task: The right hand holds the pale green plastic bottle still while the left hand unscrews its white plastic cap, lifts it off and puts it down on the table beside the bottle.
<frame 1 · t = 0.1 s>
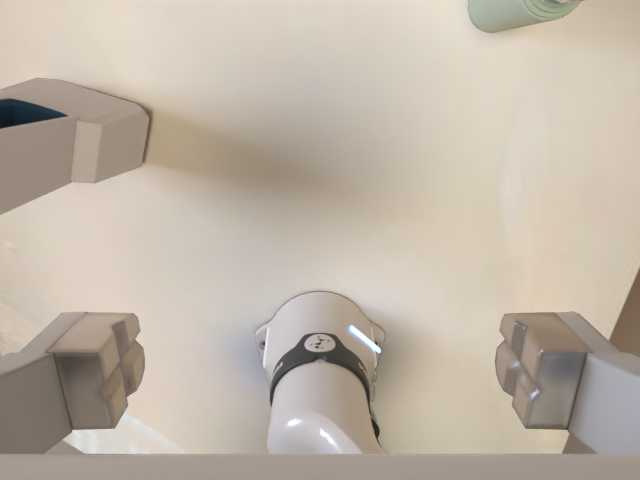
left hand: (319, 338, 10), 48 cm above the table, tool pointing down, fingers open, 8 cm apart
bottle: (494, 3, 50), on the table
electronic device: (100, 122, 55), on the table
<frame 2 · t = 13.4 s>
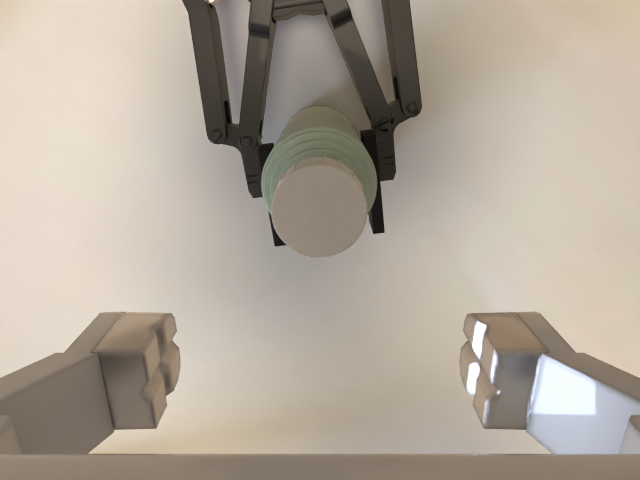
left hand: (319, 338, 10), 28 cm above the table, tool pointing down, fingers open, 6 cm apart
right hand: (329, 232, 31), fingers closed on bottle, 6 cm apart
bottle: (319, 144, 36), on the table, touching right hand
cap: (319, 211, 19), point 18 cm above the table, screwed on, not yet turned
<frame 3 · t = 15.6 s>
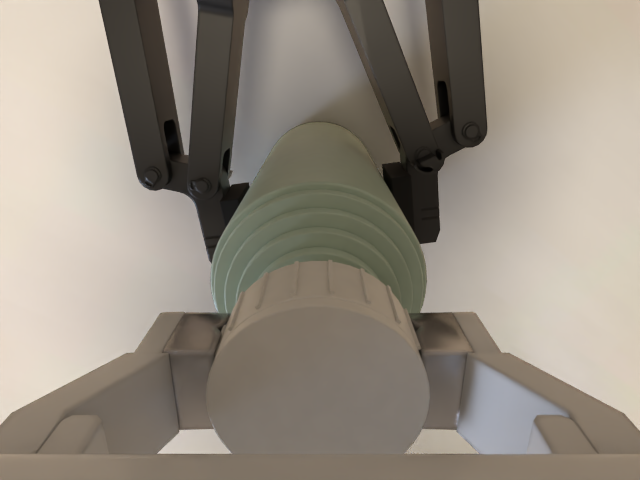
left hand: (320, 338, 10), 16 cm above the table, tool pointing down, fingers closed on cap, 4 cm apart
bottle: (319, 176, 25), on the table, touching right hand
cap: (318, 393, 8), point 18 cm above the table, screwed on, not yet turned, touching left hand
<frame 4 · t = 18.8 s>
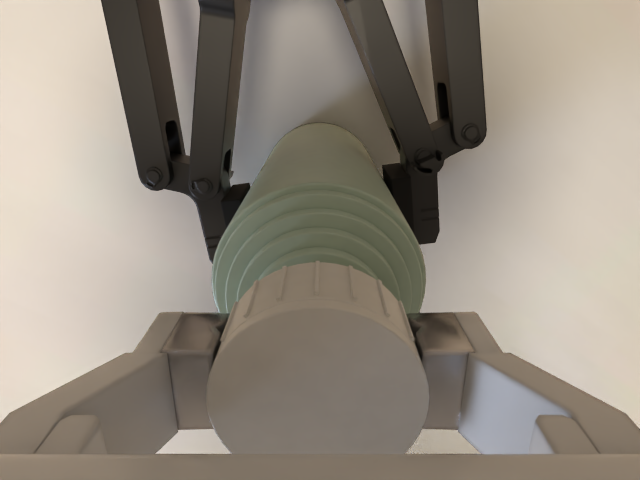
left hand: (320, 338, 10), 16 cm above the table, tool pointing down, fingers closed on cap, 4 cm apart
bottle: (319, 177, 25), on the table, touching right hand
cap: (317, 394, 8), point 18 cm above the table, turned 83° so far, risen 0.1 cm, still on its thread, touching left hand
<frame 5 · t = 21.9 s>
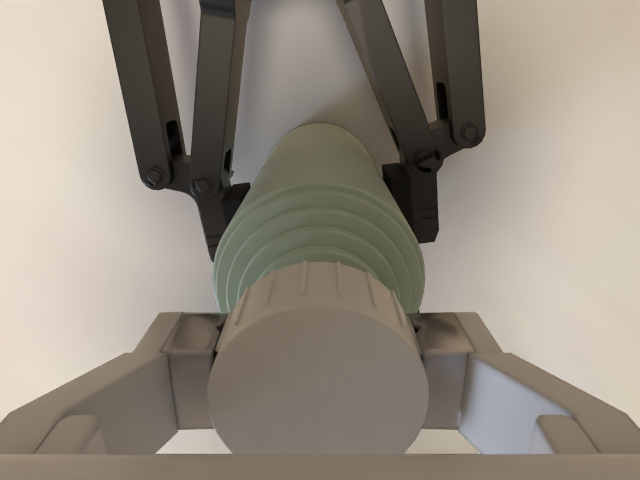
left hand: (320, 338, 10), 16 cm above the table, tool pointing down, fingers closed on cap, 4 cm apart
bottle: (319, 176, 25), on the table, touching right hand
cap: (318, 393, 8), point 18 cm above the table, turned 166° so far, risen 0.2 cm, still on its thread, touching left hand
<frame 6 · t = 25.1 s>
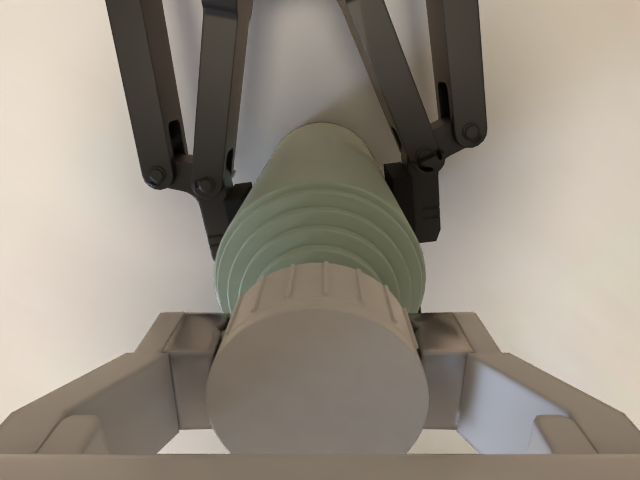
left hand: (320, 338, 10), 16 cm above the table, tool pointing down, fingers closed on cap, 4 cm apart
bottle: (321, 176, 25), on the table, touching right hand
cap: (317, 394, 8), point 18 cm above the table, turned 249° so far, risen 0.3 cm, still on its thread, touching left hand
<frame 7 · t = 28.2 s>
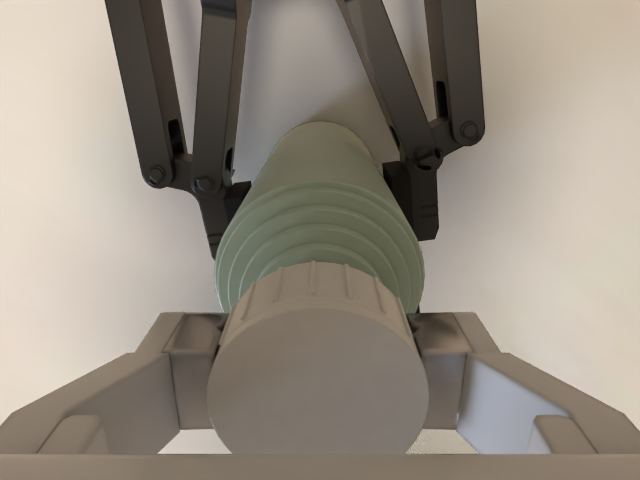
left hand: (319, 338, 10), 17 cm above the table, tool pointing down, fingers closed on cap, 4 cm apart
bottle: (320, 174, 25), on the table, touching right hand
cap: (318, 394, 8), point 18 cm above the table, turned 332° so far, risen 0.3 cm, still on its thread, touching left hand
when the left hand's fingers open (2 cm above the table, at t = 37.2 s): cap drops 2 cm, point 2 cm above the table.
when the right hand's fingers open (7 cm above the table, at t = 38.2 s): bottle stays where it is, on the table.
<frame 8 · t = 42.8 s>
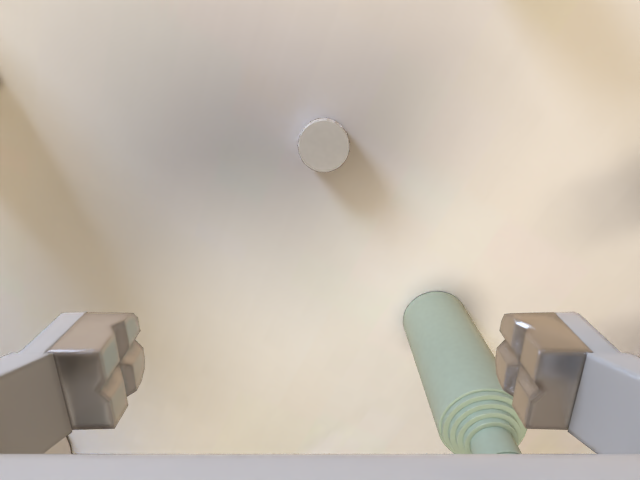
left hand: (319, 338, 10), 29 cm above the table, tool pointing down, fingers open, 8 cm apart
bottle: (434, 319, 43), on the table
cap: (323, 146, 35), point 2 cm above the table, off its thread
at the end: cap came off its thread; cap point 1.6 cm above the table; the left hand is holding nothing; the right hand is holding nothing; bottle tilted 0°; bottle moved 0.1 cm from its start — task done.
